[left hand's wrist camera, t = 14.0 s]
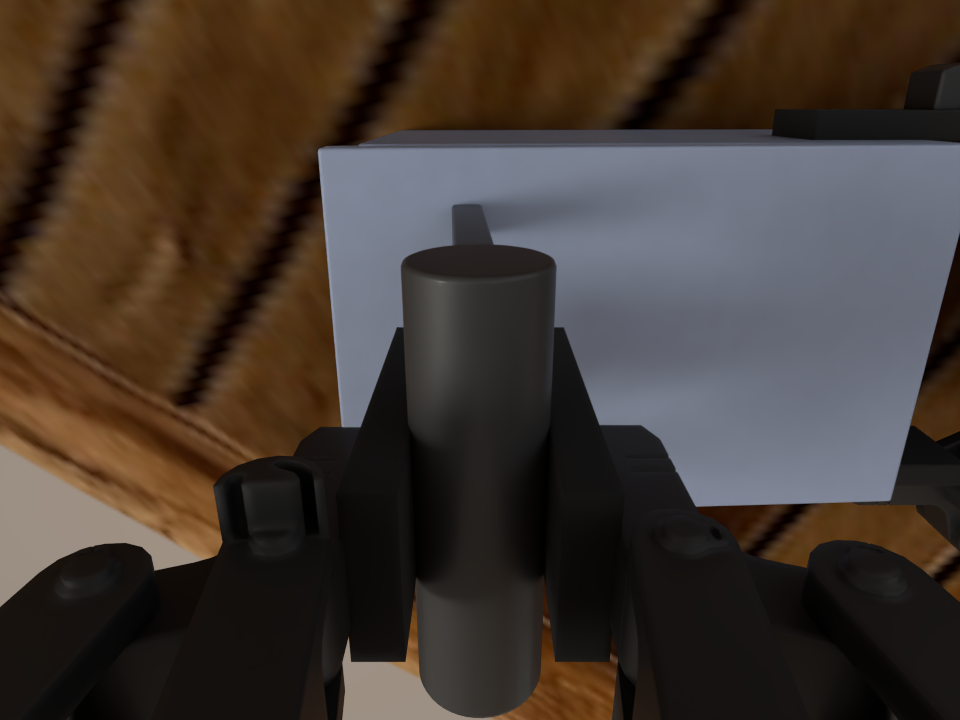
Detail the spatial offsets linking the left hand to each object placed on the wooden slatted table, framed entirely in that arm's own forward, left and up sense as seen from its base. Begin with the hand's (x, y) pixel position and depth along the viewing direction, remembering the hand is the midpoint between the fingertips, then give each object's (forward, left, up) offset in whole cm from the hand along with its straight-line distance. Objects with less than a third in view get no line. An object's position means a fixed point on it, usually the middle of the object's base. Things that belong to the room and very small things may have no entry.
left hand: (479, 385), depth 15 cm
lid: (-2, +3, -3) cm, 5 cm away
